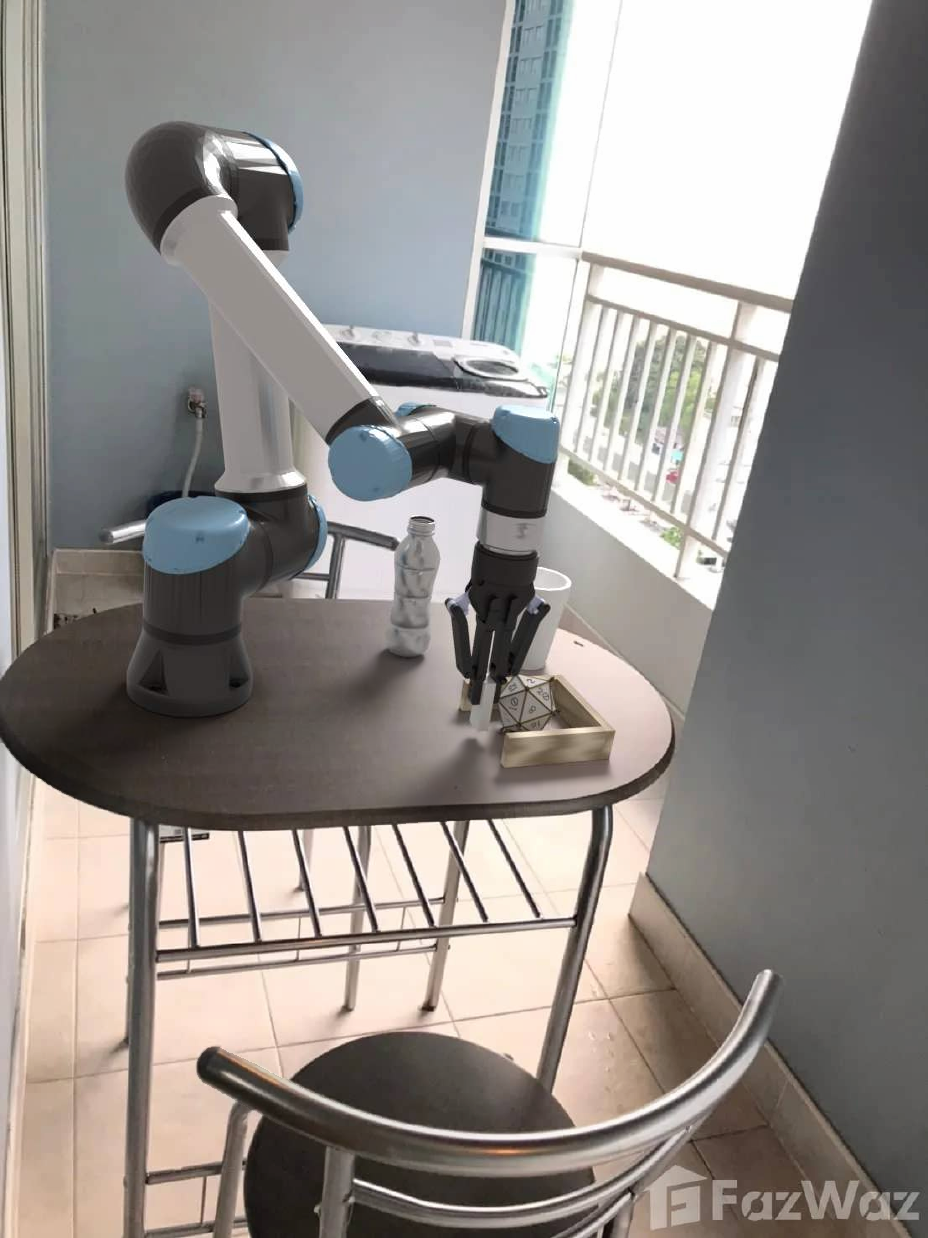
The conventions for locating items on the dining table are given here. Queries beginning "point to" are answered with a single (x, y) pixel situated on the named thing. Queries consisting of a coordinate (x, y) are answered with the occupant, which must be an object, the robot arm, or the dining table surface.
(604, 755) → the corral
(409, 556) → the plastic bottle
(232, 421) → the robot arm
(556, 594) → the foam cup
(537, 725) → the game die
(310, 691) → the dining table surface
